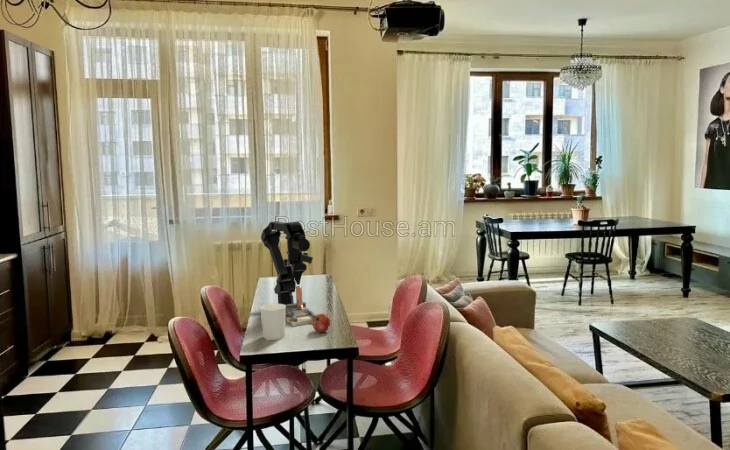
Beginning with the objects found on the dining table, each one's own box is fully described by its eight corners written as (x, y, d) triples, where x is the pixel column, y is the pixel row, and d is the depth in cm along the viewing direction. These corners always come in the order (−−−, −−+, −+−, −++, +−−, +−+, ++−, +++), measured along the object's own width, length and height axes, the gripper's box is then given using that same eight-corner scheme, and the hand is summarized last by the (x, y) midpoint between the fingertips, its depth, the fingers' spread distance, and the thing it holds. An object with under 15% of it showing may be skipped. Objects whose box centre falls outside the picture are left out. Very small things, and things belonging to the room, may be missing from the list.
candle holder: (265, 342, 192) (264, 311, 191) (258, 335, 201) (256, 305, 199) (290, 338, 197) (289, 307, 195) (282, 331, 205) (281, 302, 204)
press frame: (281, 315, 229) (280, 305, 228) (307, 311, 233) (306, 301, 233) (292, 326, 212) (291, 315, 211) (319, 321, 216) (319, 311, 216)
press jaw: (291, 314, 223) (289, 286, 221) (306, 312, 225) (304, 284, 224) (293, 317, 219) (292, 288, 218) (308, 314, 222) (307, 286, 220)
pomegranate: (318, 333, 208) (303, 323, 201) (327, 317, 210) (312, 307, 204) (330, 339, 203) (315, 329, 196) (339, 322, 205) (325, 312, 198)
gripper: (316, 250, 227) (318, 284, 229) (304, 245, 245) (306, 277, 246) (292, 252, 223) (294, 287, 225) (282, 247, 240) (283, 279, 242)
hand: (295, 282), depth 234 cm, fingers open, 9 cm apart
